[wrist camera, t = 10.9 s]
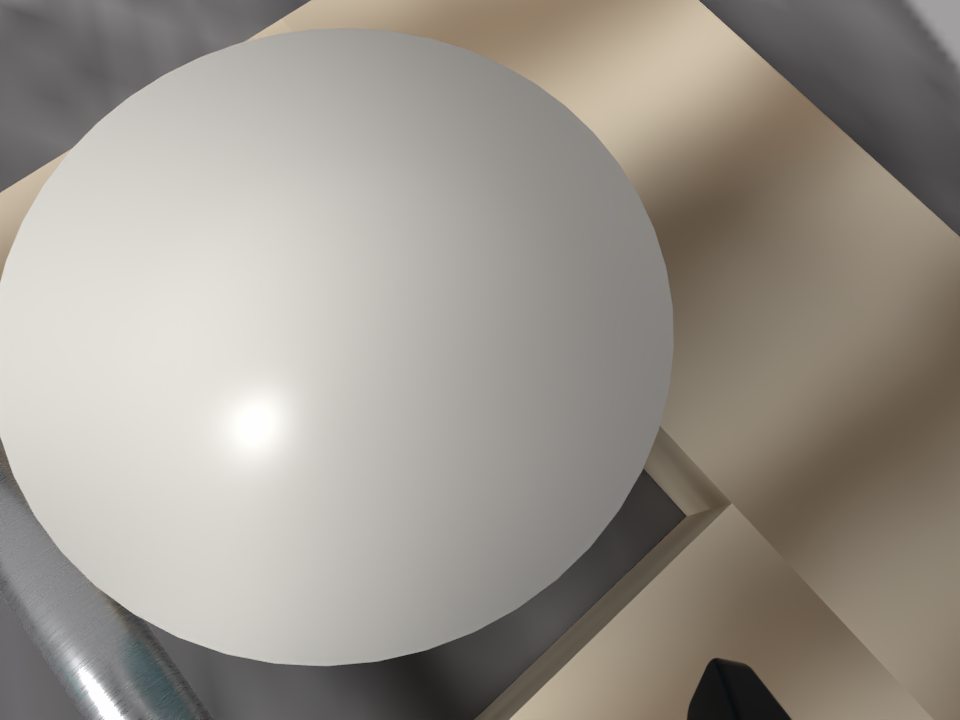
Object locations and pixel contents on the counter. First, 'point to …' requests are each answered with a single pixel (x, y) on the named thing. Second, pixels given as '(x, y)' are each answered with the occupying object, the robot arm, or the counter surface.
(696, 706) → the robot arm
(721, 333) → the light wood flat tray
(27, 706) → the counter surface
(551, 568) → the white teal rounded cylinder
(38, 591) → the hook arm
